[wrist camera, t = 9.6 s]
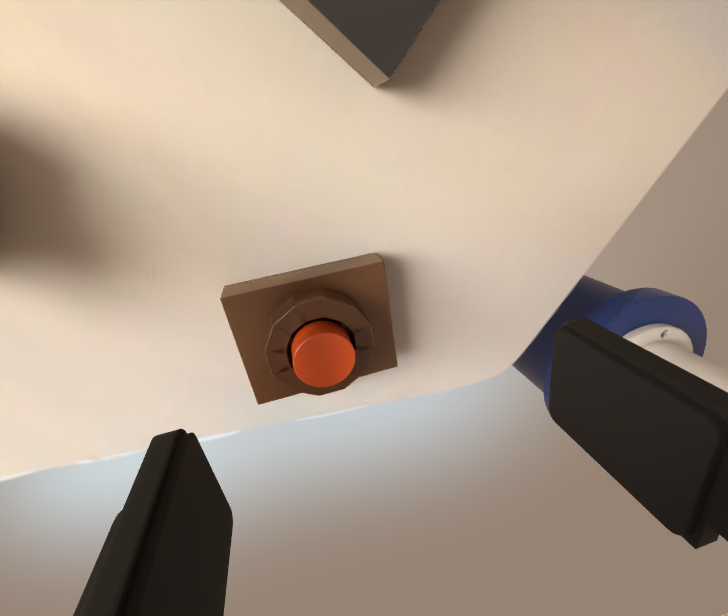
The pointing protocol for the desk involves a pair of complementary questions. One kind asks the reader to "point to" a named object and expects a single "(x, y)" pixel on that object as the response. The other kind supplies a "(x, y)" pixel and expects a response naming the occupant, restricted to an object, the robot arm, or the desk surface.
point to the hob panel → (366, 30)
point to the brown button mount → (305, 305)
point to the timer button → (322, 354)
